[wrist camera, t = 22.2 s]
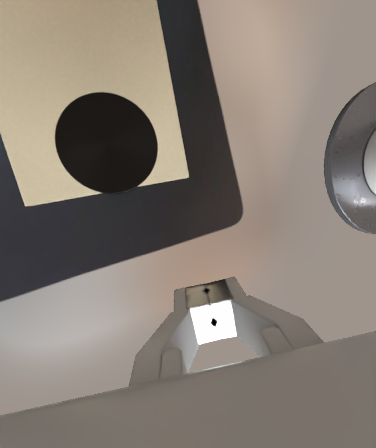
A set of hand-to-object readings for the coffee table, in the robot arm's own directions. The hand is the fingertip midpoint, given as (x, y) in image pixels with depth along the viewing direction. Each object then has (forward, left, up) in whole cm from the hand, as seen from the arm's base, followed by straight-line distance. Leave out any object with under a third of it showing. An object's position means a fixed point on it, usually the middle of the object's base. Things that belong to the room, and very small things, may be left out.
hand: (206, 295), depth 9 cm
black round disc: (+6, -13, -20) cm, 25 cm away
